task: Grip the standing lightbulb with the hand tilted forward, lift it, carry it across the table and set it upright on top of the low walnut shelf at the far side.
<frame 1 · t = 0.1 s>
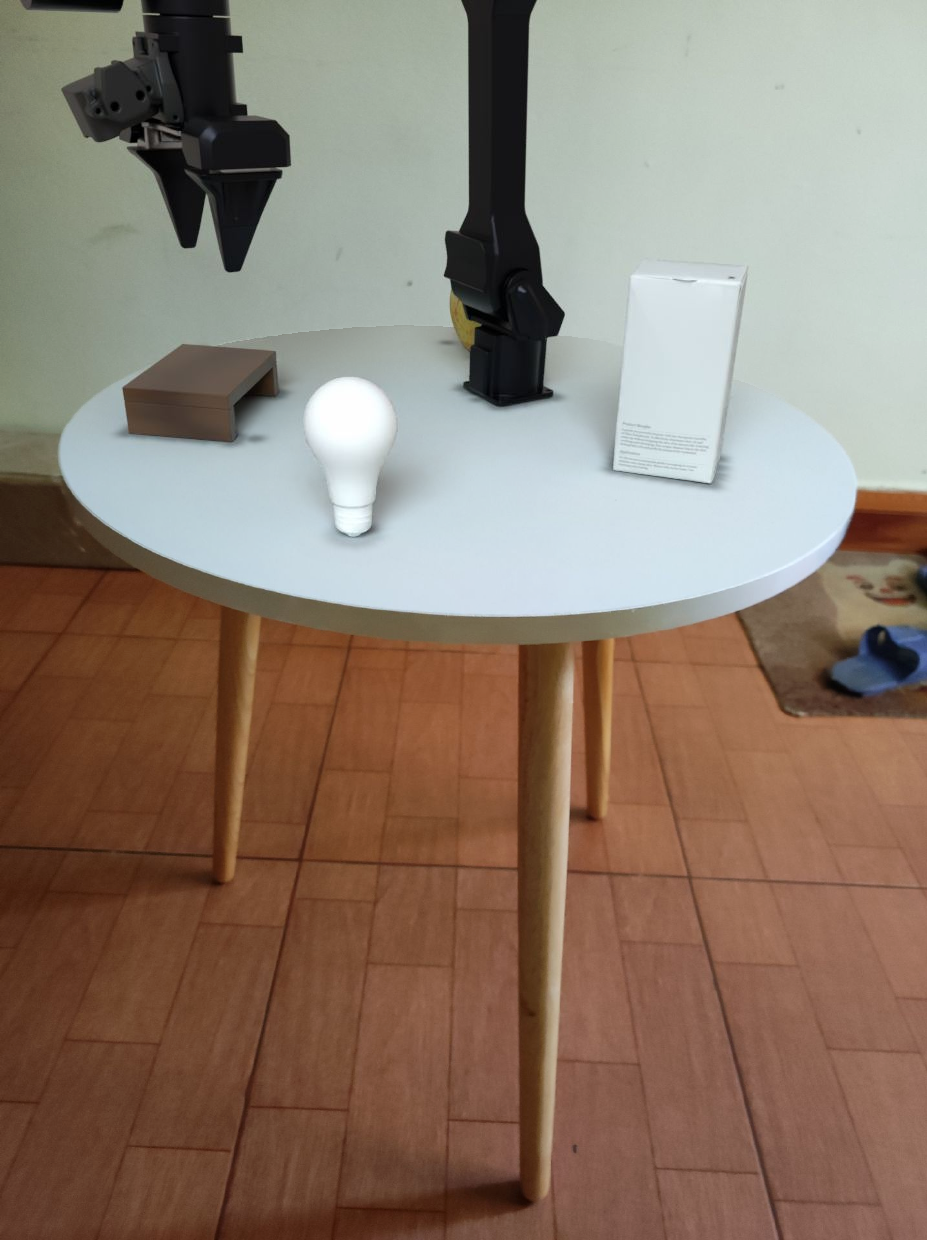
hand: (209, 259, 75), 15 cm above the table, tool pointing down, fingers open, 9 cm apart
shelf: (208, 411, 89), on the table
cosmetic box: (664, 467, 81), on the table
lightbulb: (353, 537, 69), on the table
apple: (489, 353, 107), on the table
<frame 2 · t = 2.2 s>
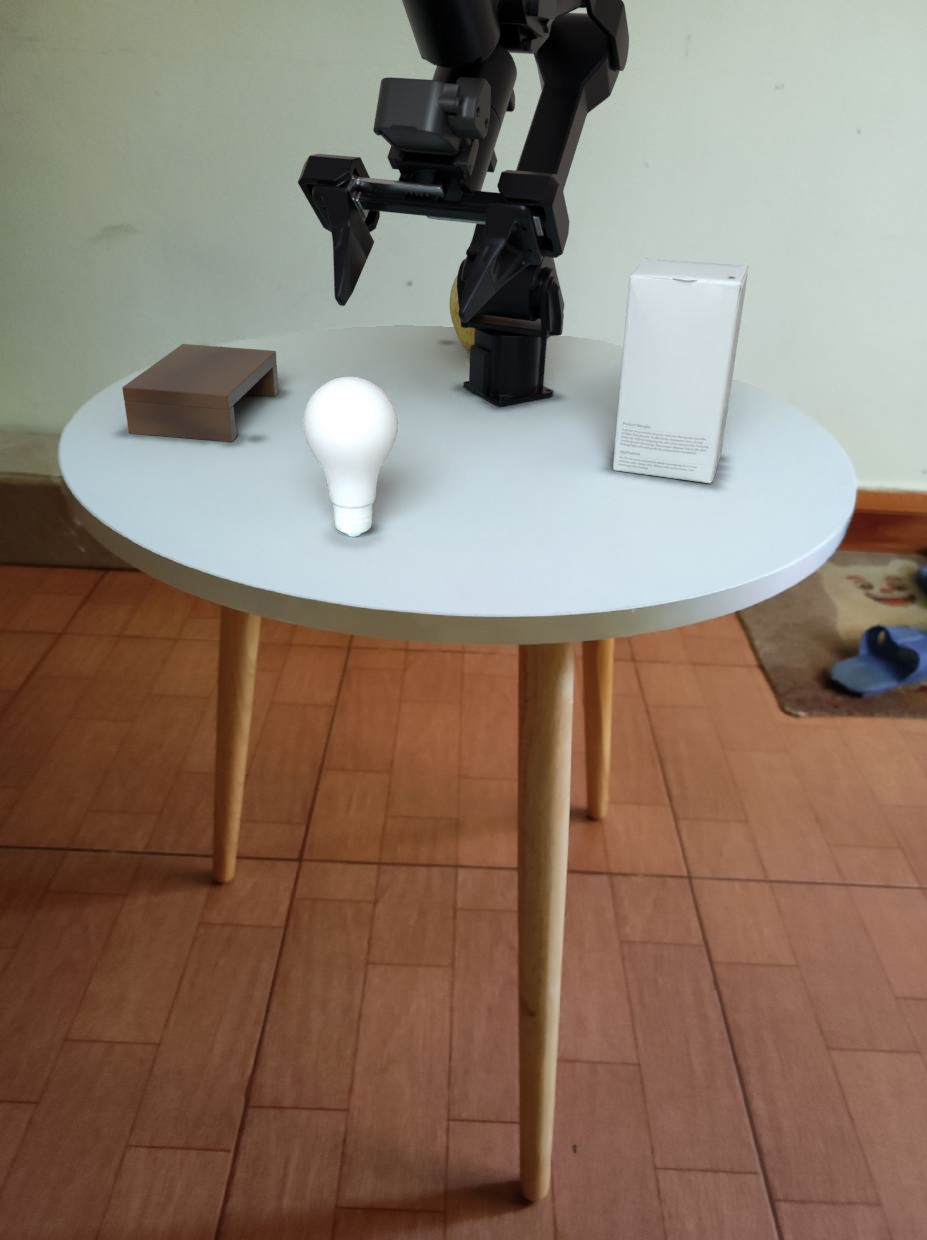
hand: (399, 310, 68), 13 cm above the table, tool tilted 45°, fingers open, 9 cm apart
nothing on the table moved.
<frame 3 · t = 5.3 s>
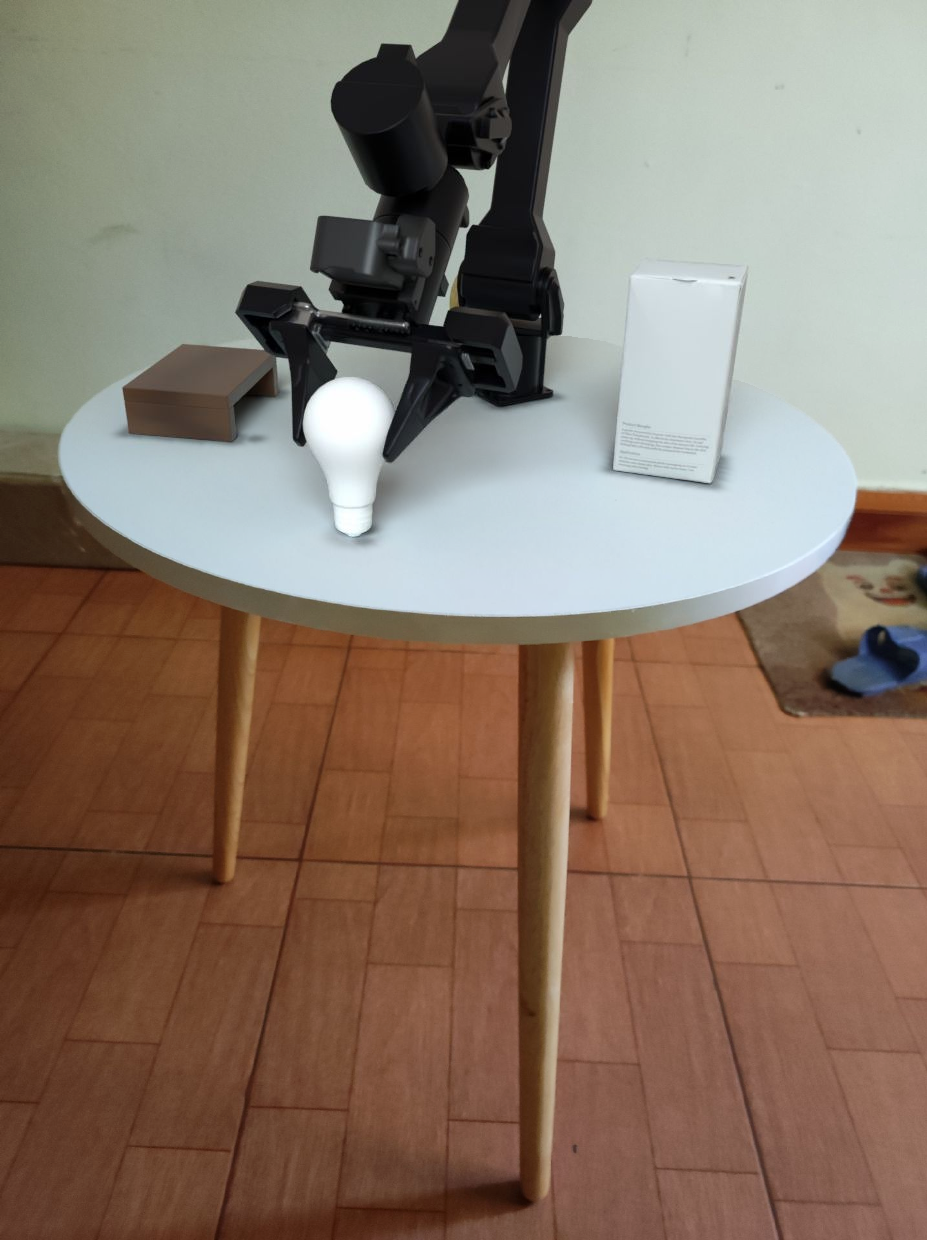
hand: (341, 451, 64), 7 cm above the table, tool tilted 45°, fingers closed on lightbulb, 6 cm apart
lightbulb: (353, 537, 69), on the table, touching gripper
everything else where it was.
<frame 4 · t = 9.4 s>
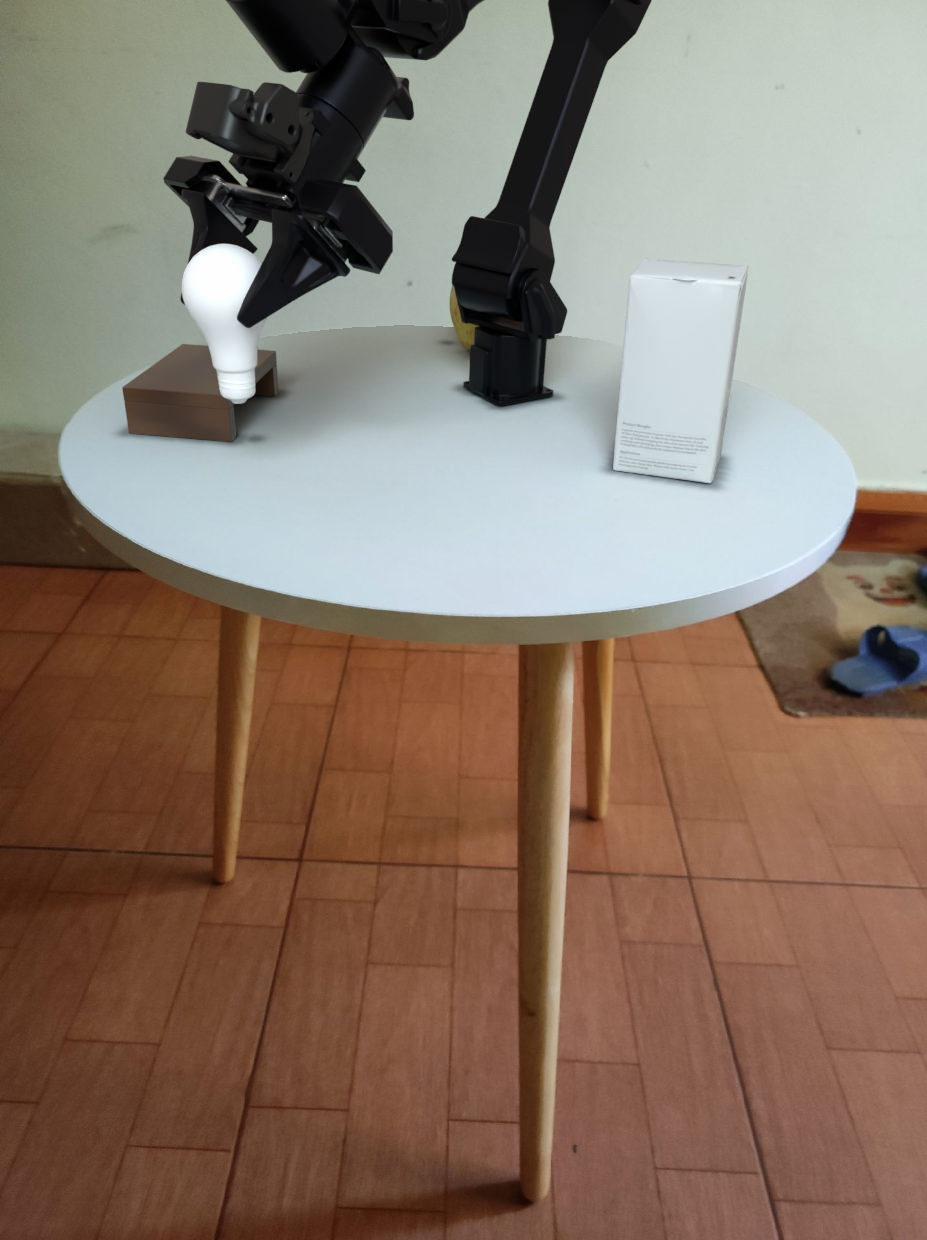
hand: (213, 314, 68), 13 cm above the table, tool tilted 45°, fingers closed on lightbulb, 6 cm apart
lightbulb: (239, 405, 72), point 6 cm above the table, touching gripper
everything else where it was.
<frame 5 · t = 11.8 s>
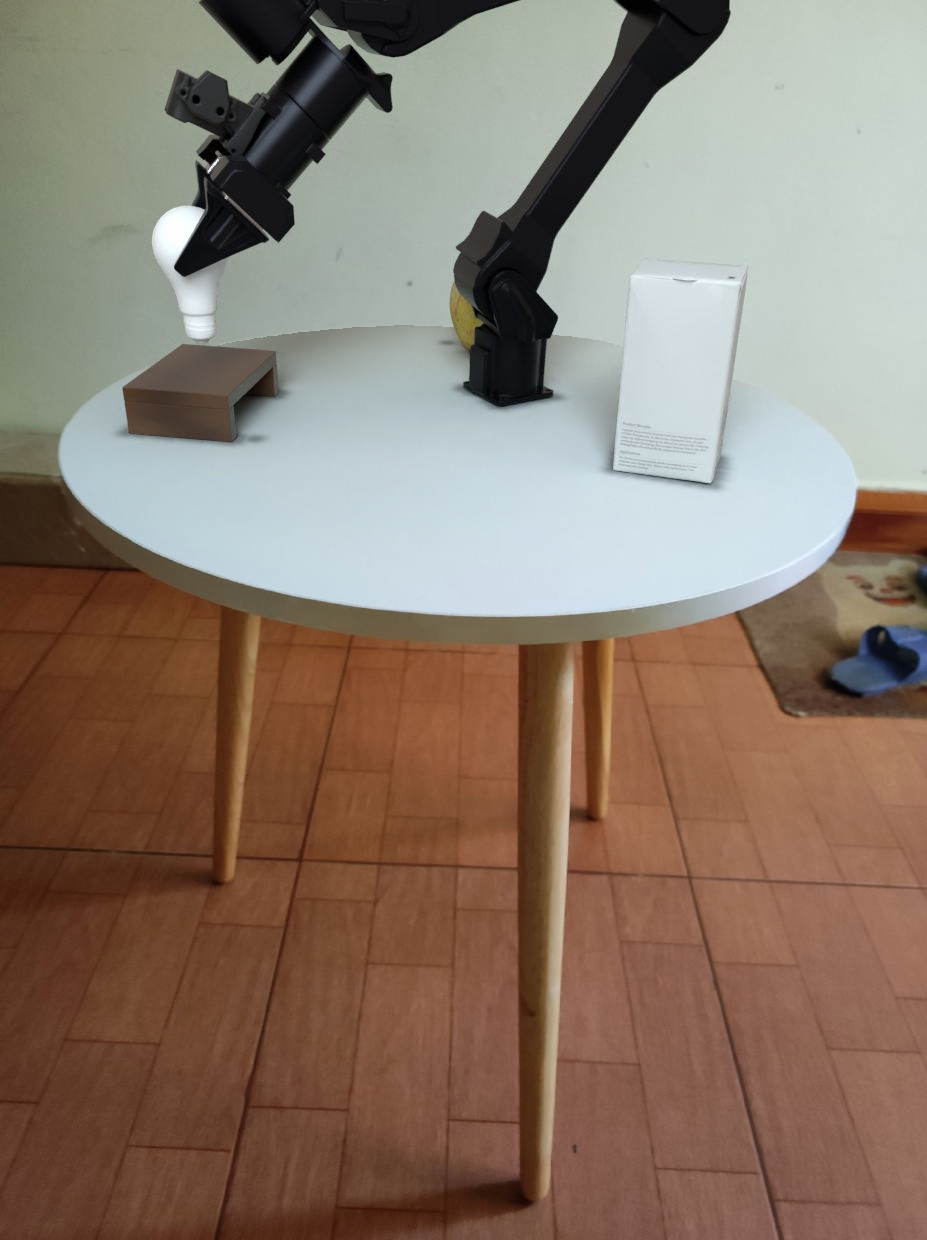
hand: (176, 263, 81), 13 cm above the table, tool tilted 45°, fingers closed on lightbulb, 6 cm apart
lightbulb: (202, 345, 85), point 6 cm above the table, touching gripper
everything else where it was.
when the fingers open (11 cm above the table, at t = 13.5 s): lightbulb stays where it is, resting on shelf.
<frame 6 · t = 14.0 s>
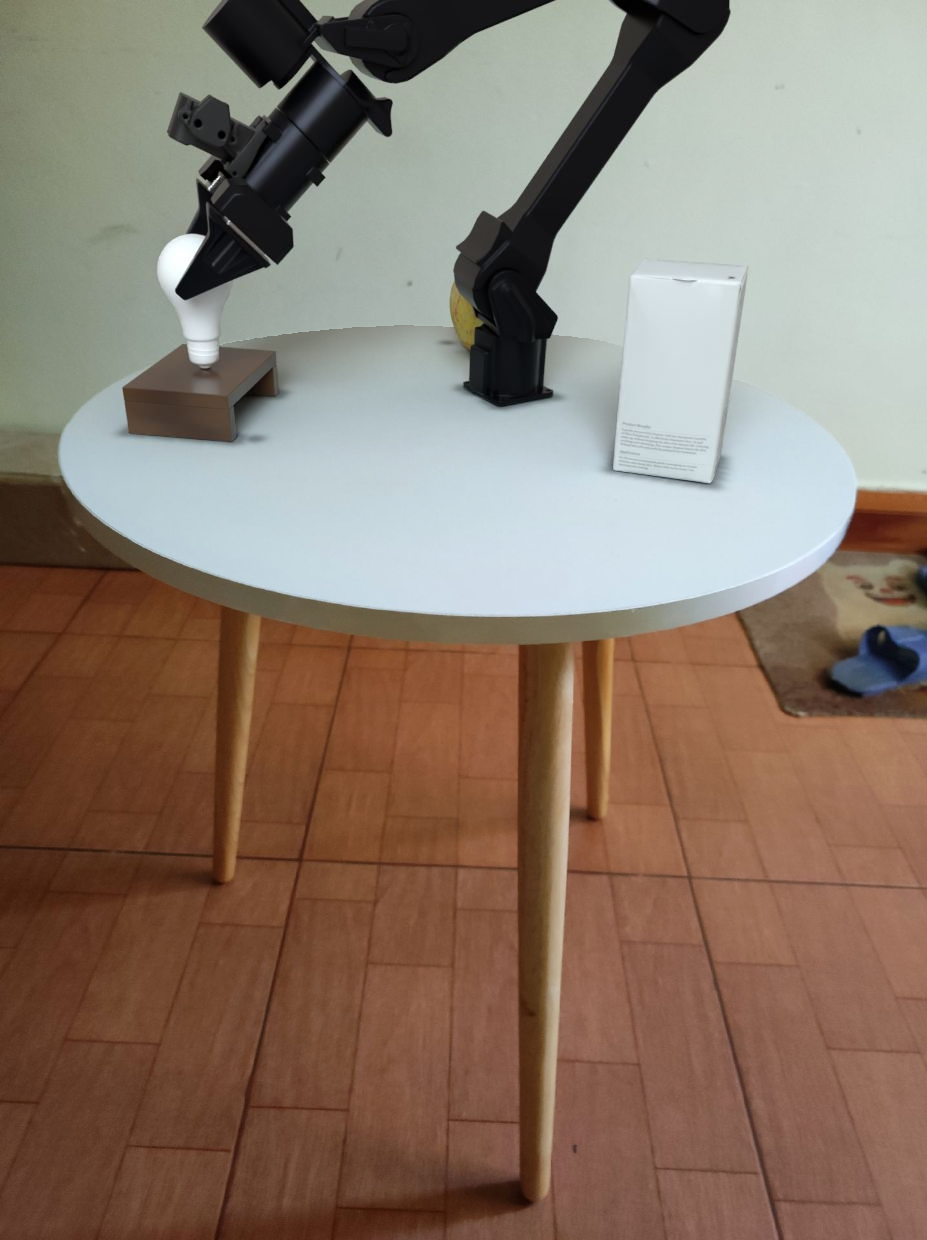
hand: (176, 282, 82), 11 cm above the table, tool tilted 45°, fingers open, 9 cm apart
lightbulb: (205, 369, 87), point 4 cm above the table, touching shelf
everything else where it was.
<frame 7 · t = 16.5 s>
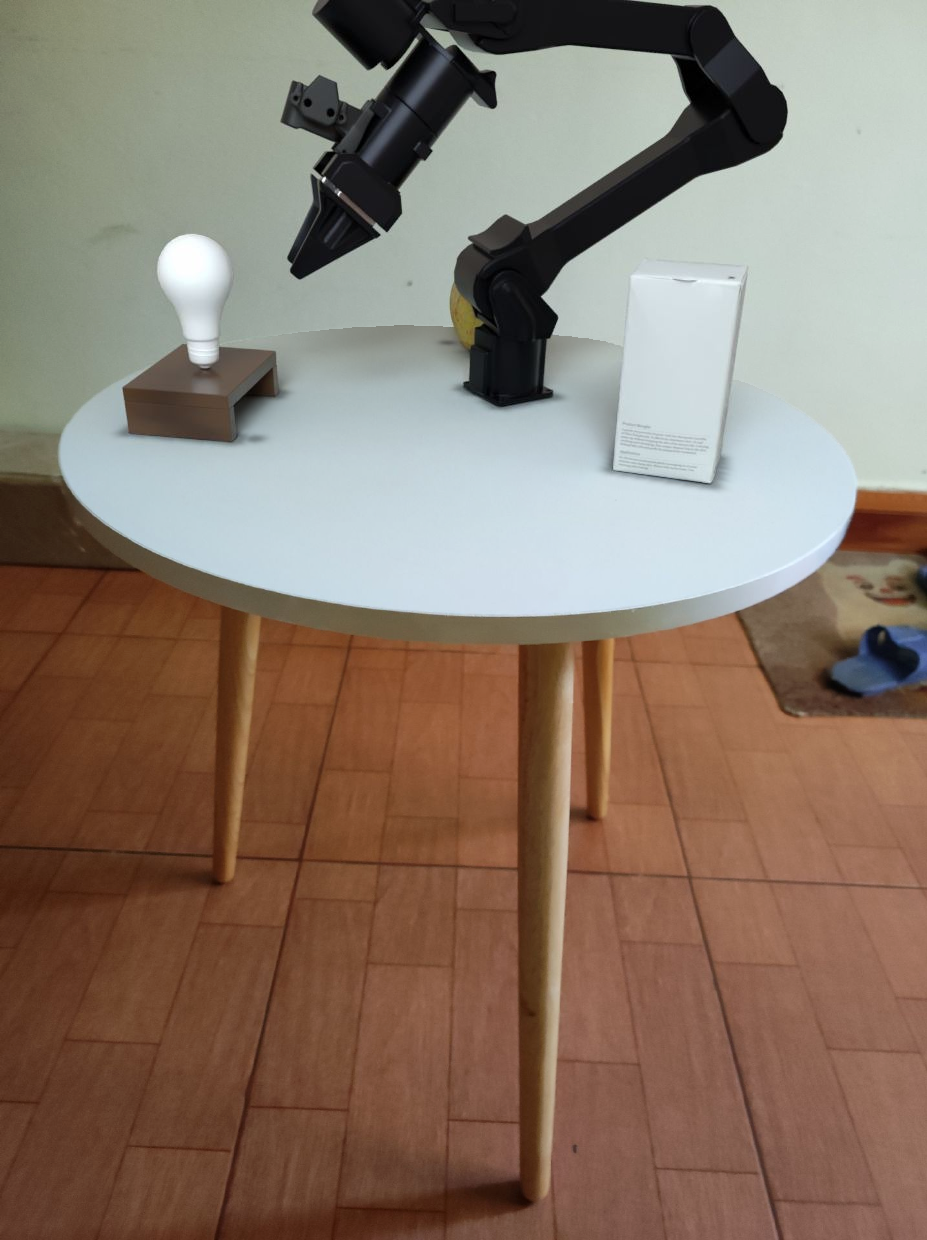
hand: (292, 268, 84), 12 cm above the table, tool tilted 40°, fingers open, 9 cm apart
nothing on the table moved.
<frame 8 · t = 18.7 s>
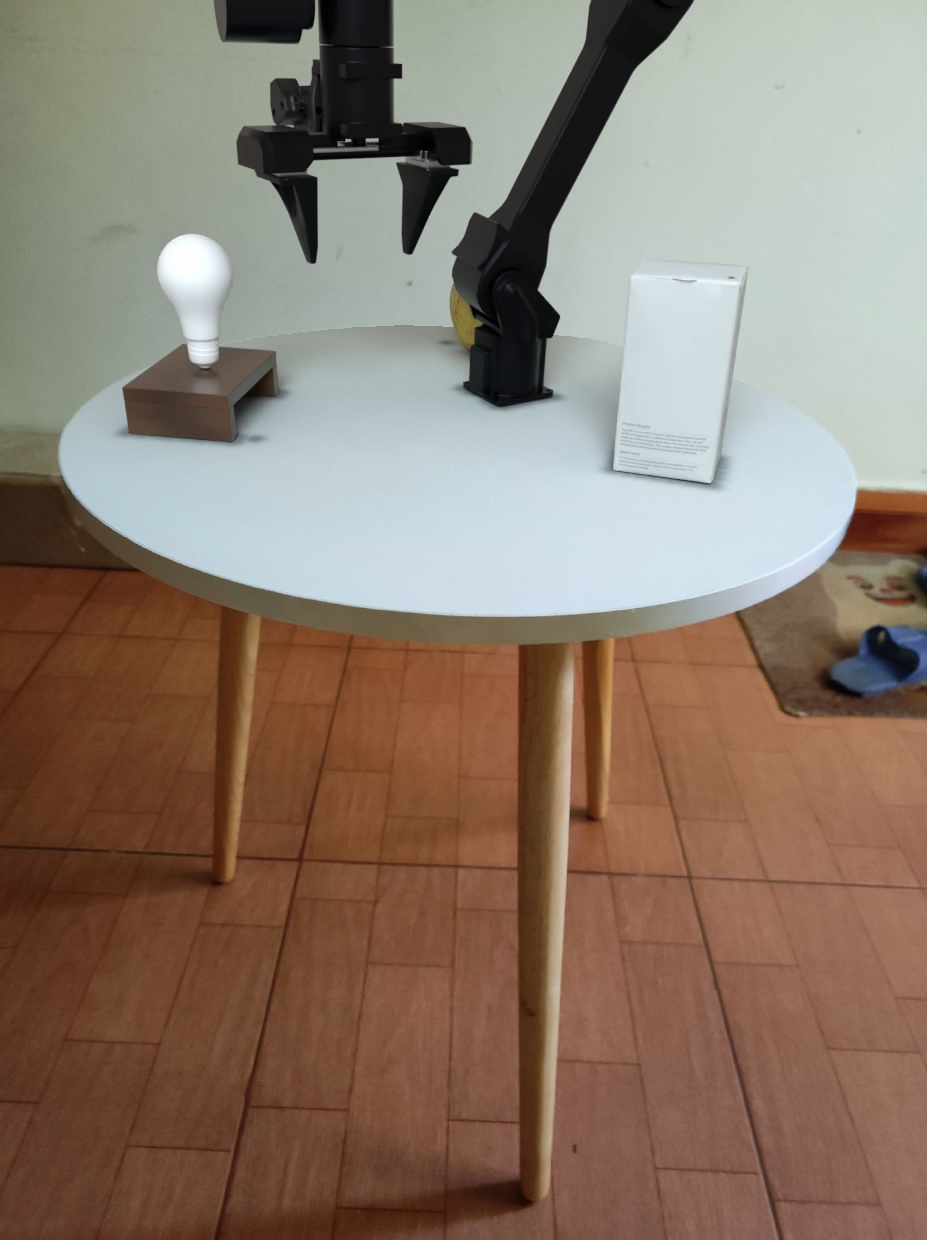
hand: (360, 258, 84), 13 cm above the table, tool pointing down, fingers open, 9 cm apart
nothing on the table moved.
at the end: lightbulb inside the target area on the shelf (0.1 cm from its centre), point 3.8 cm above the shelf's base; lightbulb tilted 0°; the gripper is holding nothing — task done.
